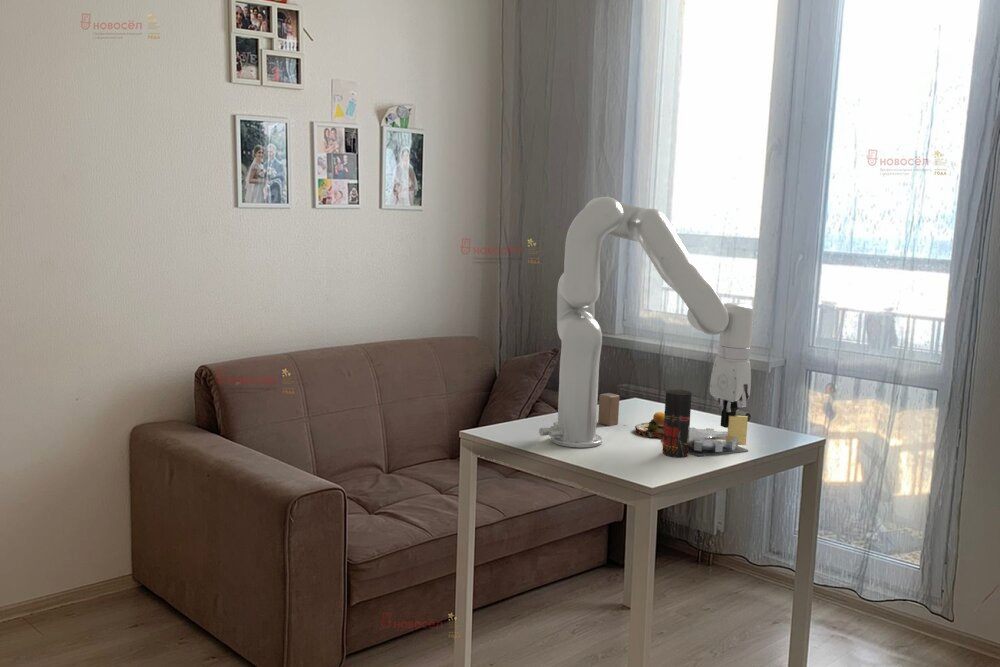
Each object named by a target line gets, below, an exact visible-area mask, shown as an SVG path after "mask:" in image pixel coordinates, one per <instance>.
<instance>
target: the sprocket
mask: <svg viewBox="0 0 1000 667" xmlns="http://www.w3.org/2000/svg"><path fill="white" fill-rule="evenodd" d="M748 418H749V416H748V415H737V414H736V415H729V417H728V428H727V431H718V430H715V429H714V428H710V427H709V428H707V427H706V428H704V429H703V428H696V427H690V428H689V445H688V447H689V448H694V450H696V451H702V450H713V451H715V452H722V450H724V449H729V450H734V449H736V446H746V445H747V434H748V423H749V422H748V421H749V419H748Z"/></svg>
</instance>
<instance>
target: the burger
mask: <svg viewBox="0 0 1000 667" xmlns="http://www.w3.org/2000/svg"><path fill="white" fill-rule="evenodd" d="M664 416H665V411H664V412H662V411H658V412H655V413H653V416H652V419H651V420H650V421H649V422H642V423H639V424H636V425H635V426H634V428H635V434H636V435H639V436H640V435H641V434H642V436H643V437H645V438H649V439H650V438H652V437H653V438H655V437H657V438H658V439H660V440H663V434H664Z"/></svg>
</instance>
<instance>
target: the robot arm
mask: <svg viewBox="0 0 1000 667" xmlns="http://www.w3.org/2000/svg"><path fill="white" fill-rule="evenodd" d="M607 236H611V237H612V236H613V237H616V238H620V239H624V240H629V241H633V242H638V243H639V244H640V246H641V248H642V250H644V252H645V254H646V255H647V256H648V258H649V260H650V262H651V263H652V265H653V266H654V268H655V270H656V271H657V273H658V275H659V276H660V278H661V279H662V280H663V281H664V282H665V283H666V284H667V285H668V286H669V287H670V288H671V289H672V290H674V292H675V293H676V294H677V295H678V296H679V297H680V298H681V300H682V301H683V303H684V304H685V305H686V306H687V308H688V309H687V312H686V313H687V314H686V316H687V320H688V322H689V325H691V327H693V328H695V329H696V330H697V331H700V332H702V333H704V334H706V335H710V336H715V335H719V338H718V339H719V340H718V347H717V350H718V352H717V353H718V354H717V356H716V357H715V359H714V362H713V366H712V370H711V374H710V375H711V376H710V383H709V394H710V395H711V396H712V397H713V399H714V400H715V401H717V402H718V404H719V409H720V411H721V418H720V426H721V427H722V428H726V429H728V417H729V415H736V416H737V413H738V411H739V409H740V408H746V407H747V401H749V399H750V395H751V387H752V383H751V382H752V373H751V372H752V371H751V369H752V368H751V361H750V355H751V345H752V333H753V332H752V331H753V322H754V308H753V306H752V305H751V304H747V303H742V302H728V303H725V302H723V301H722V299H721V298H720V296H719V295H718V294H717V292H716V290H715V289H714V287H713V286H712V284H711V282H710V281H709V279H708V278H707V277H706V276H705V274H704V273H703V272H702V271H701V269H700V268H699V266H698V264H697V263H696V262H695V261H694V260H693V258H692V256H691V255H690V253H689V252H688V250H687V248H686V247H685V245H684V244H683V243H682V242H683V241H682V240H681V239H680V237H679V236H678V233H677V232H676V231H675V229H674V227H673V225H672V224H671V222H670V221H669V219H668V218H667V216H666V215H665V213H663V212H662V211H661V210H658V209H655V208H644V207H640V206H635V205H630V204H627V203H624V202H619V201H618V200H617V199H615V198H613V197H610V196H601V197H595V198H592V199H591V200H589V201H588V202H587V203H586V205H585V206H584V208H583V209H581V210H580V211H579V212H578V213H577V215H575V218H573V220H572V222H571V224H570V226H568V230H567V234H566V236H565V237H566V238H565V245H564V262H563V263H564V266H563V269H564V270H563V273H562V274H561V275H560V278H559V279H558V283H557V290H556V291H557V294H556V296H557V298H556V310H557V311H556V324H557V325H556V328H557V335H558V337H559V339H560V341H561V348H560V359H559V376H558V378H559V381H558V382H559V384H558V402H557V405H558V406H557V421H556V422H553V425H551V426H550V427H540V428H539V430H538V433H539V435H540V436H541V437H543V436H545V437H546V436H549V437H550V441H551V442H552V443H553V444H555V445H559V446H563V447H568V448H592V447H594V448H595V447H598V446H600V445H601V444H602V443H603V438H602V437H601V435H599V434H597V421H598V419H597V418H598V417H597V416H598V399H599V398H598V397H599V396H598V394H599V377H600V376H599V374H600V372H599V371H600V360H601V353H602V345H603V334H602V329H601V326H600V324H599V322H598V321H597V320H596V318H595V306H596V305H595V303H596V302H598V299H599V297H600V295H601V277H600V276H601V275H600V274H601V272H600V271H601V267H600V266H601V265H600V264H601V252H602V250H601V249H602V244H603V241H604V239H605V238H606V237H607Z"/></svg>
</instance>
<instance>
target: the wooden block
mask: <svg viewBox="0 0 1000 667" xmlns="http://www.w3.org/2000/svg"><path fill="white" fill-rule="evenodd" d="M598 397H599V398H598V399H599V401H598V414H597V416H598V417H597V418H598V419H597V422H598V424H600V425H604V426H607V427H609V426H617V425H618V424H619V413H620V412H619V411H620V395H619V394H615V393H612V392H607V393H600V394H599V396H598Z"/></svg>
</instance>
